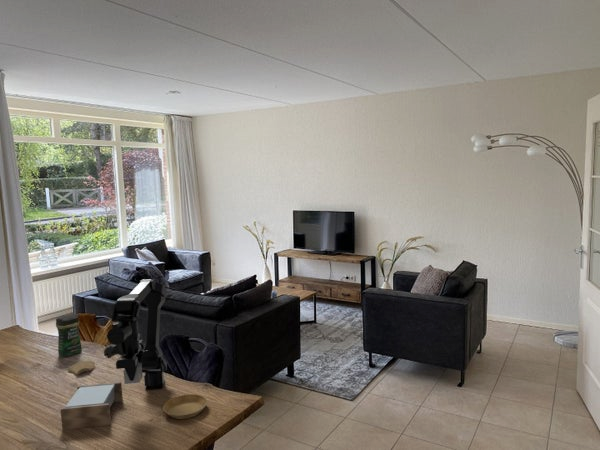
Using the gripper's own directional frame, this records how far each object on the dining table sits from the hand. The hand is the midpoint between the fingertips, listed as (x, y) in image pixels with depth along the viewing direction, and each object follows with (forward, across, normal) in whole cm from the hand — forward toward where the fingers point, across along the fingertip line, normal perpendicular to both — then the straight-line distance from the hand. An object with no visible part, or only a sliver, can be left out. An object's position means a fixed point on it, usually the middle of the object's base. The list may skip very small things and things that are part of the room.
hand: (133, 377), depth 162 cm
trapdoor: (+10, 0, -15) cm, 18 cm away
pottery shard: (+13, -40, -30) cm, 51 cm away
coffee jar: (+12, -62, -42) cm, 75 cm away
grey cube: (+1, 0, 0) cm, 1 cm away
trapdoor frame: (+12, 0, -14) cm, 18 cm away
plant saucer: (+12, +4, +17) cm, 22 cm away
